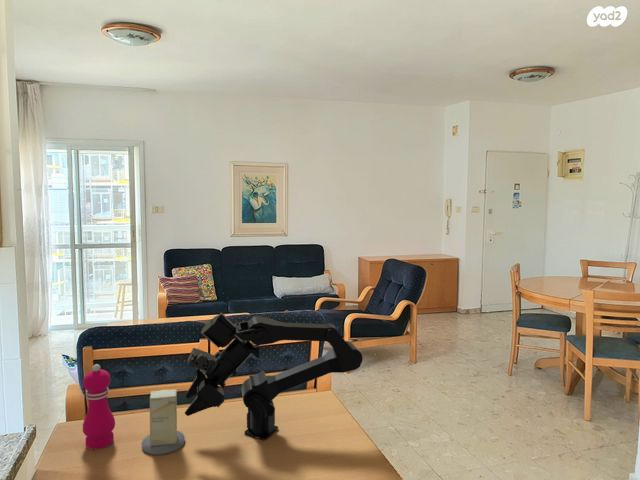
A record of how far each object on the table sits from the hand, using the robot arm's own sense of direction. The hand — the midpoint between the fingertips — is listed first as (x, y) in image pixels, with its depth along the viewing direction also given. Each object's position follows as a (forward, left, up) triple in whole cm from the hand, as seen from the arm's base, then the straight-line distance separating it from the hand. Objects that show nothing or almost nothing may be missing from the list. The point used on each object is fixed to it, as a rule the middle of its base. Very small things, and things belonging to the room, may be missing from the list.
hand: (186, 405), depth 117 cm
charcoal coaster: (+4, +4, -9) cm, 11 cm away
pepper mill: (+18, +11, -9) cm, 23 cm away
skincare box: (+4, +4, -9) cm, 10 cm away
